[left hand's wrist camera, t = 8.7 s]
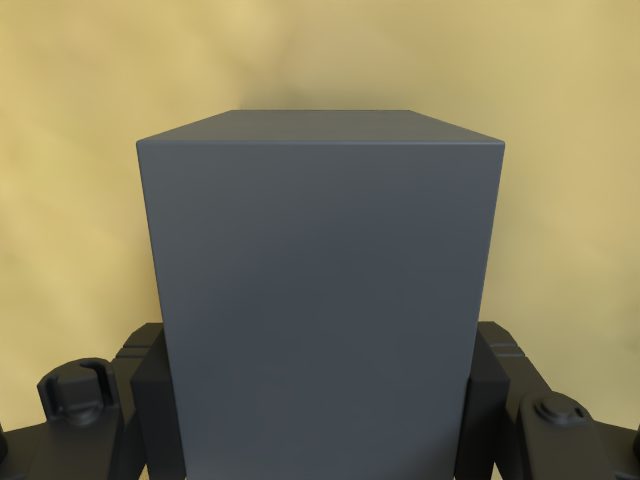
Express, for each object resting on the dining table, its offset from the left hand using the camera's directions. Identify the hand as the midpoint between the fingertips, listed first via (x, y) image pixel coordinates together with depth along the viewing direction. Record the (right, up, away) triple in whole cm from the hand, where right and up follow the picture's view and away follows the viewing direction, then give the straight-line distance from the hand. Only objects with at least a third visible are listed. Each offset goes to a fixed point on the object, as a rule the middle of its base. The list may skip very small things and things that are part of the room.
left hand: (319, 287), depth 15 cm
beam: (0, -22, +10) cm, 24 cm away
